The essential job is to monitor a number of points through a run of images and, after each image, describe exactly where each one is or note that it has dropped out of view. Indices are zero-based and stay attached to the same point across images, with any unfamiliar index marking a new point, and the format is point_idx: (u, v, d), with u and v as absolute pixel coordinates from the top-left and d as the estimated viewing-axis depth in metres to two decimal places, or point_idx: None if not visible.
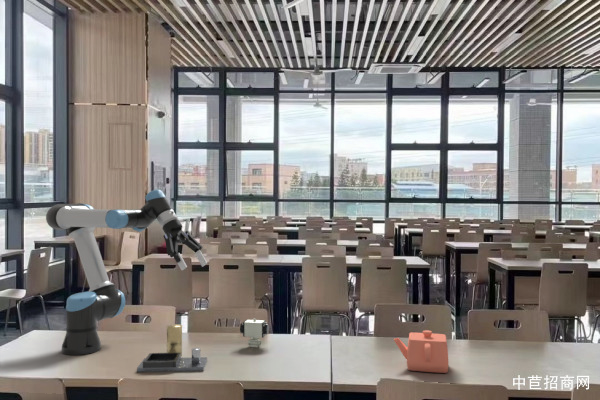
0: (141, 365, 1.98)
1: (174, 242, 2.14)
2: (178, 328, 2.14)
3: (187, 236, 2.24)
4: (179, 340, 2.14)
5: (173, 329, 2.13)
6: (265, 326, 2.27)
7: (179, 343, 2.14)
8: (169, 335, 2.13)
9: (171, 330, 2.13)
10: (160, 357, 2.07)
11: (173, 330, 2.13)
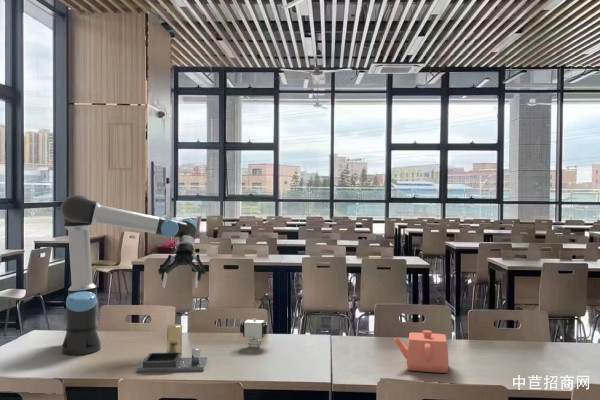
0: (141, 365, 1.98)
1: None
2: (178, 328, 2.14)
3: None
4: (179, 340, 2.14)
5: (173, 329, 2.13)
6: (265, 326, 2.27)
7: (179, 343, 2.14)
8: (169, 335, 2.13)
9: (171, 330, 2.13)
10: (160, 357, 2.07)
11: (173, 330, 2.13)
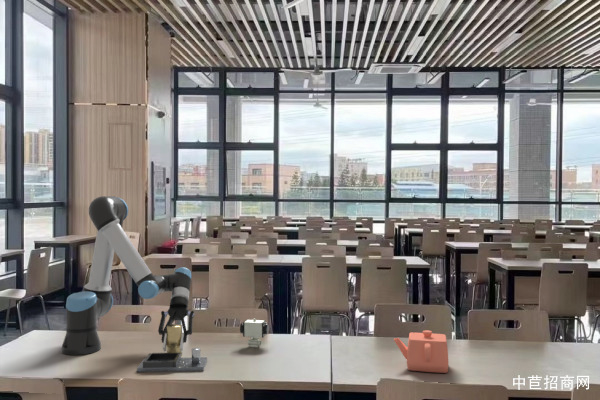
0: (141, 365, 1.98)
1: None
2: (178, 328, 2.14)
3: None
4: (179, 340, 2.14)
5: (173, 329, 2.13)
6: (265, 326, 2.27)
7: (179, 343, 2.14)
8: (169, 335, 2.13)
9: (171, 330, 2.13)
10: (160, 357, 2.07)
11: (173, 330, 2.13)
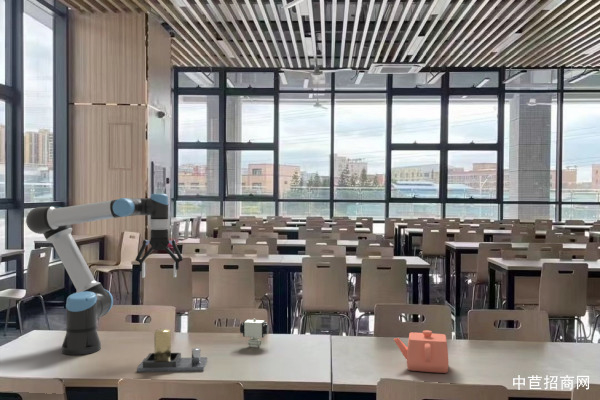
0: (141, 365, 1.98)
1: (170, 250, 2.36)
2: (167, 333, 2.00)
3: None
4: (168, 346, 2.00)
5: (161, 334, 1.99)
6: (265, 326, 2.27)
7: (168, 349, 2.00)
8: (157, 341, 1.99)
9: (160, 335, 1.99)
10: None
11: (161, 335, 1.99)
